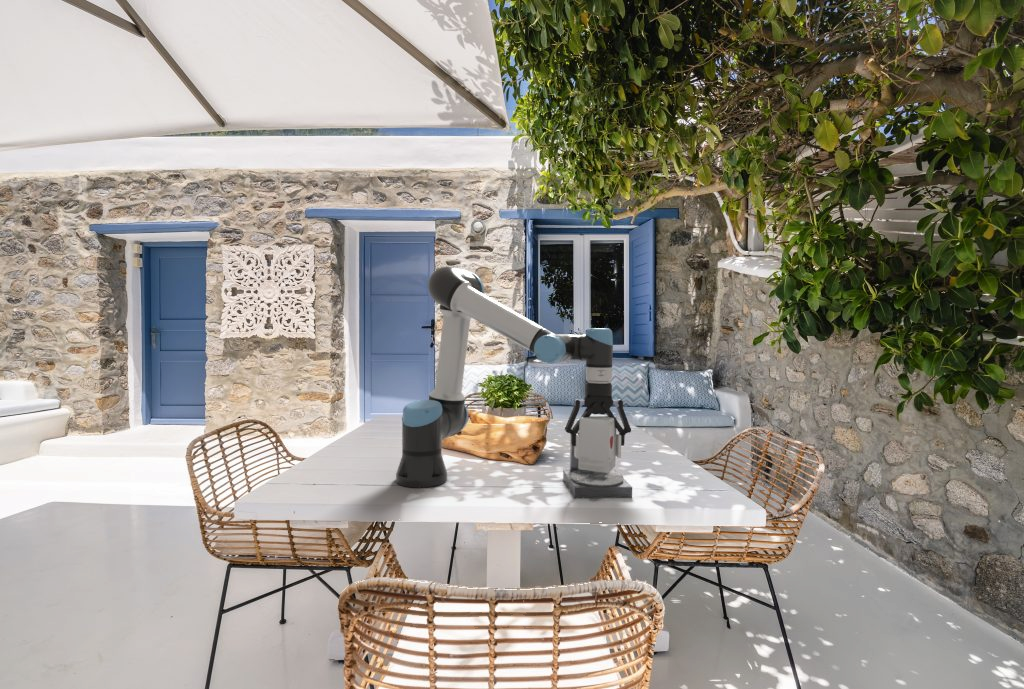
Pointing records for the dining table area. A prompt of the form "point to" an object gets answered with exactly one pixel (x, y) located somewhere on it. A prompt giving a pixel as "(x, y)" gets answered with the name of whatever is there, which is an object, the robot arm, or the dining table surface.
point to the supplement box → (597, 443)
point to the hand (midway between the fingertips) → (597, 456)
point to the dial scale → (594, 481)
